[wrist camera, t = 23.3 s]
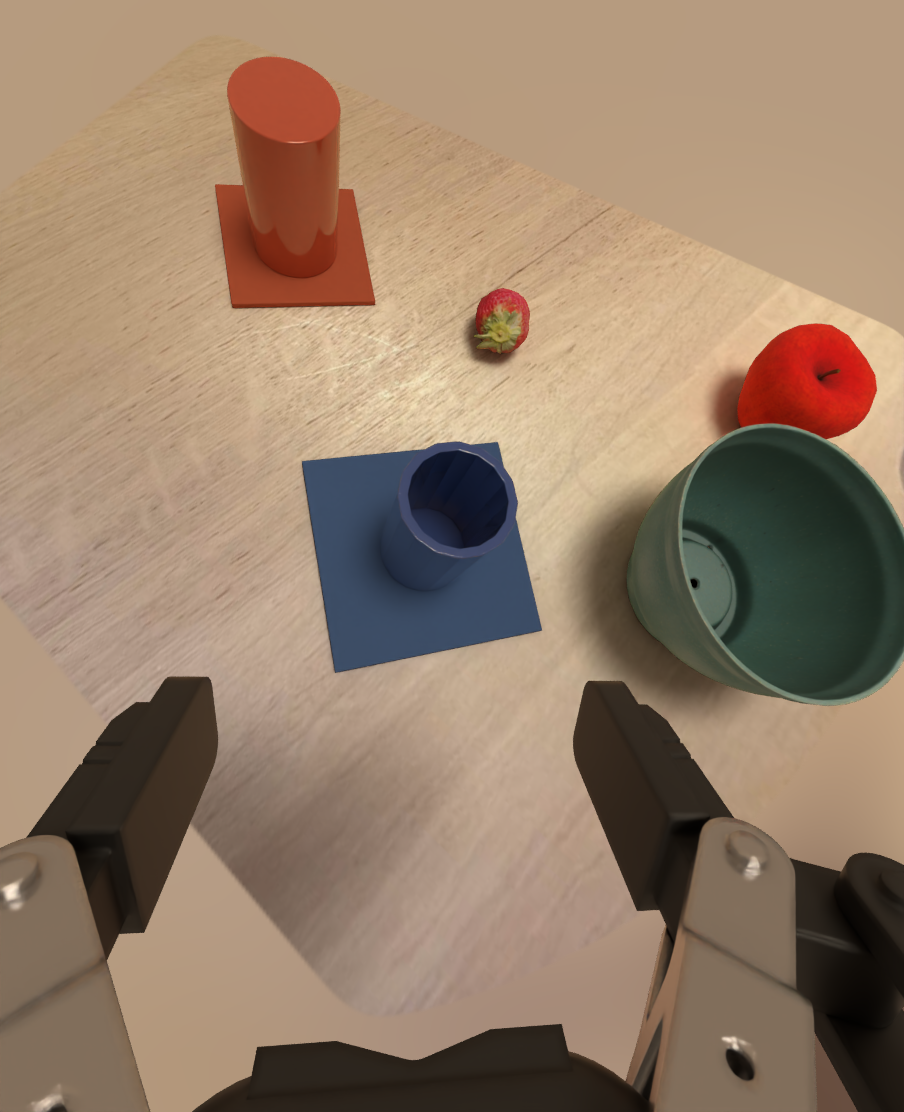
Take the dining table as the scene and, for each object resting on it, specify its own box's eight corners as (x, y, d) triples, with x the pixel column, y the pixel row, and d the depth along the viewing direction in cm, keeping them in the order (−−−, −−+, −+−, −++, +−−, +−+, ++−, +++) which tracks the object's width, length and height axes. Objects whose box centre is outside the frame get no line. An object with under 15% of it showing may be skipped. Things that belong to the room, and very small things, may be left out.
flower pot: (739, 479, 43) (868, 416, 33) (797, 677, 40) (960, 676, 30) (562, 496, 39) (646, 429, 28) (611, 719, 36) (726, 734, 25)
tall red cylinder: (258, 279, 37) (233, 139, 27) (247, 207, 38) (220, 50, 28) (343, 278, 38) (348, 146, 29) (330, 210, 40) (331, 61, 30)
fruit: (530, 318, 42) (556, 272, 37) (508, 377, 40) (532, 337, 35) (482, 295, 41) (502, 245, 37) (458, 354, 40) (475, 310, 35)
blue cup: (388, 598, 34) (411, 566, 24) (372, 511, 35) (388, 447, 25) (475, 583, 35) (529, 547, 26) (457, 500, 36) (502, 436, 27)
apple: (706, 364, 45) (780, 302, 38) (791, 380, 47) (878, 323, 39) (716, 460, 43) (797, 414, 35) (805, 472, 45) (899, 431, 37)
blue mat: (335, 672, 32) (335, 672, 32) (302, 463, 35) (301, 460, 34) (540, 630, 36) (542, 630, 36) (496, 444, 39) (498, 441, 38)
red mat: (232, 308, 36) (231, 304, 36) (215, 189, 38) (214, 184, 38) (374, 305, 39) (375, 301, 39) (352, 193, 41) (352, 189, 40)
